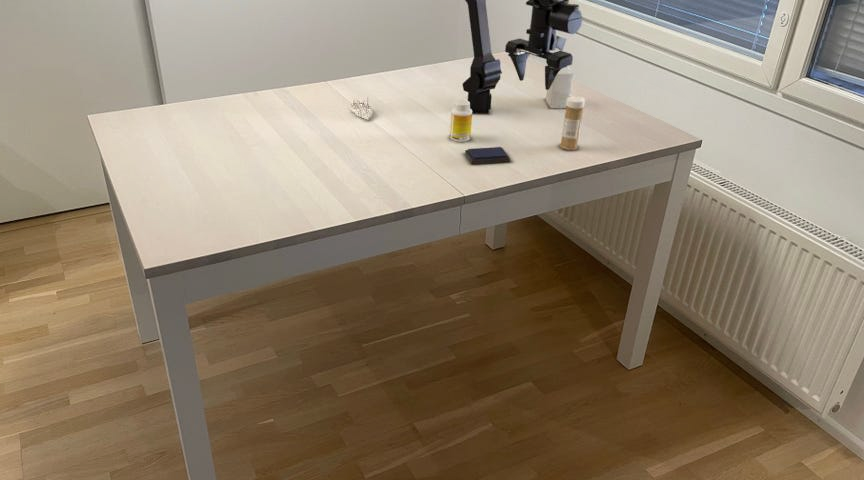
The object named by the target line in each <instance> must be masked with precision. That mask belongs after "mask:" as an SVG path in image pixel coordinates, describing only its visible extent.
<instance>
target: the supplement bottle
mask: <svg viewBox="0 0 864 480" xmlns="http://www.w3.org/2000/svg"><path fill="white" fill-rule="evenodd" d="M450 112H451V113H450V129H449V137H450V139H451V140H452V141H454V142H456V143H457V142H458V143H464V142H468V141H469V140H470V139H471V136H472V135H471V133H472V123H473V113H472V110H471V109H470V102H469V101H468V99H466V100H465V99H457V100H456V101H454V107H453V108H452V109H451V111H450Z"/></svg>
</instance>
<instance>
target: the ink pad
mask: <svg viewBox="0 0 864 480" xmlns="http://www.w3.org/2000/svg"><path fill="white" fill-rule="evenodd" d="M464 155H465V156H466V158H467V161H468V162H469V163H470V164H471V165H486V164H501V163H502V164H504V163H510V161H511V157H510V155H508V153H507V152H506V151H505V149H504V148H503V147H502V146H495V147H494V146H493V147H491V146H490V147H477V148H468V149H465V150H464Z"/></svg>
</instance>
